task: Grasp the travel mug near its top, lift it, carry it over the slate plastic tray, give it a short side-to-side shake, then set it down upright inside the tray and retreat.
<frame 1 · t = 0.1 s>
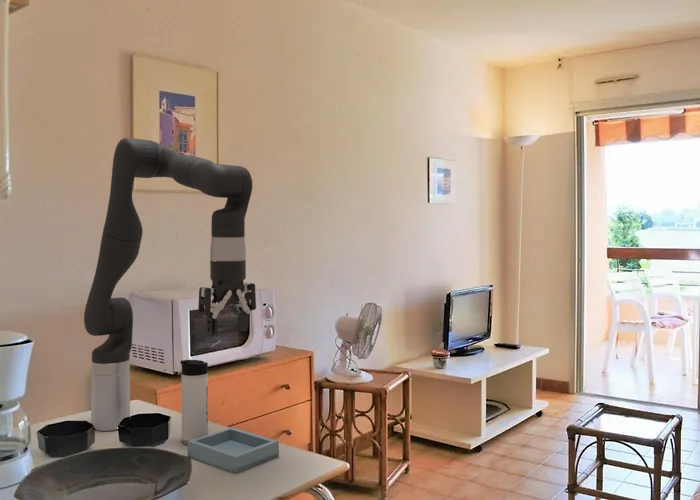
hand: (228, 333, 141), 29 cm above the table, fingers open, 8 cm apart
travel mug: (194, 442, 158), on the table
slate tray: (233, 456, 148), on the table
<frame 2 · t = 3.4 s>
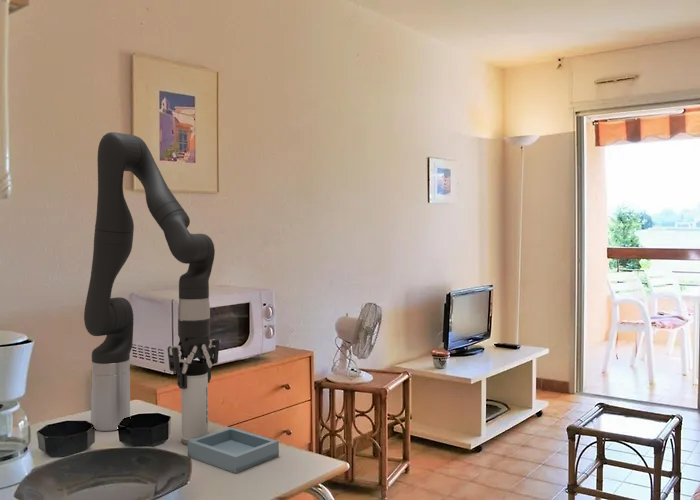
hand: (194, 385, 158), 14 cm above the table, fingers closed on travel mug, 6 cm apart
travel mug: (194, 441, 158), on the table, touching gripper
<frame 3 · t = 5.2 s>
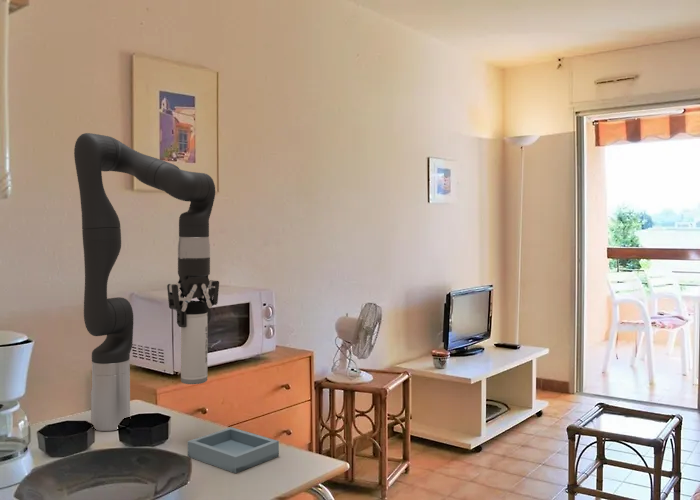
hand: (193, 324, 157), 28 cm above the table, fingers closed on travel mug, 6 cm apart
travel mug: (193, 382, 158), point 14 cm above the table, touching gripper
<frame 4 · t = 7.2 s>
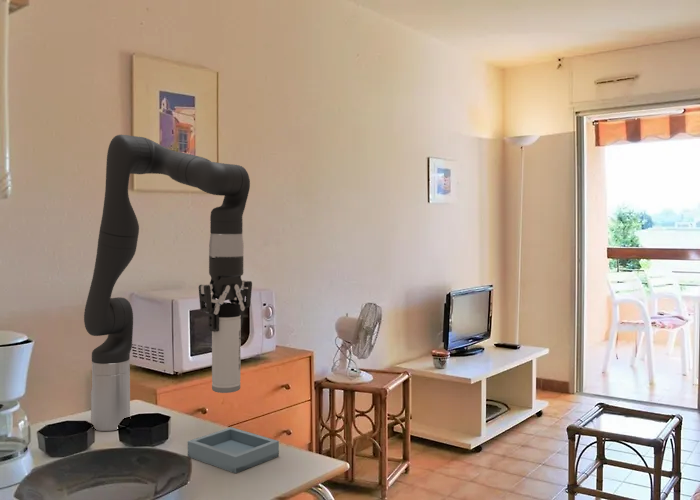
hand: (226, 328, 145), 29 cm above the table, fingers closed on travel mug, 6 cm apart
travel mug: (225, 390, 146), point 16 cm above the table, touching gripper
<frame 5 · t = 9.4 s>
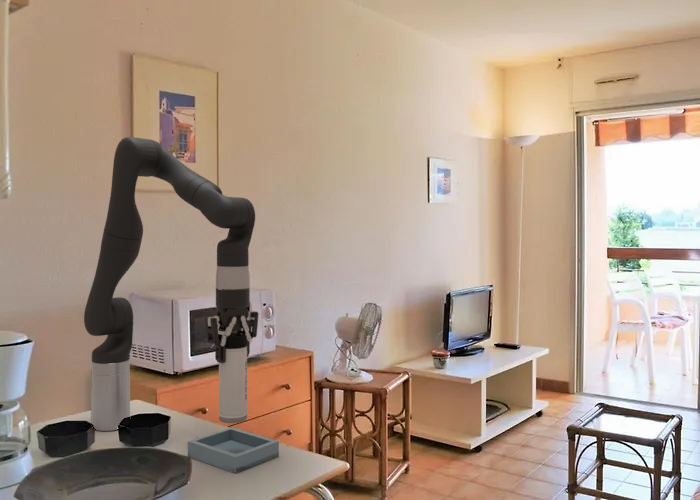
hand: (232, 359, 147), 22 cm above the table, fingers closed on travel mug, 6 cm apart
travel mug: (232, 420, 148), point 8 cm above the table, touching gripper
when the fingers open (16 cm above the table, at t = 11.1 s): travel mug drops 1 cm, resting on slate tray.
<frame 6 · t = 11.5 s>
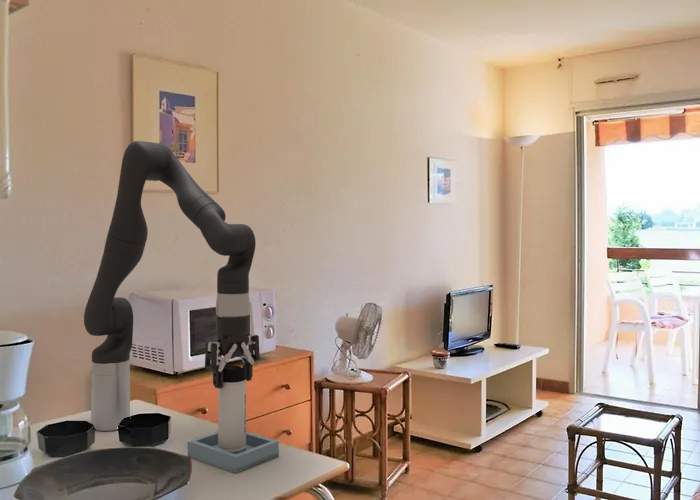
hand: (233, 384, 147), 17 cm above the table, fingers open, 8 cm apart
travel mug: (231, 453, 148), point 1 cm above the table, touching slate tray
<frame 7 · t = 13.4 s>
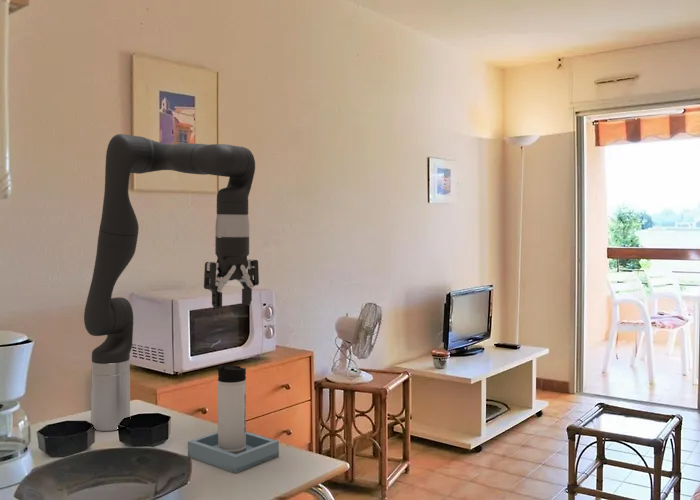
hand: (232, 306, 147), 34 cm above the table, fingers open, 8 cm apart
nothing on the table moved.
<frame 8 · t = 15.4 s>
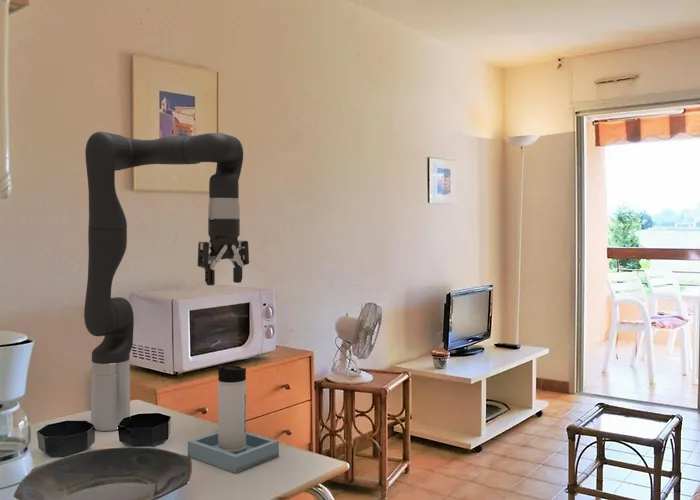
hand: (224, 283, 159), 38 cm above the table, fingers open, 8 cm apart
nothing on the table moved.
at the end: travel mug 0.4 cm off-centre on the slate tray, point 0.8 cm above the slate tray's base; travel mug tilted 0°; the gripper is holding nothing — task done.
